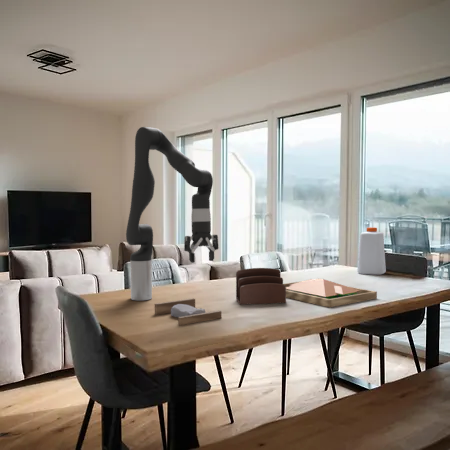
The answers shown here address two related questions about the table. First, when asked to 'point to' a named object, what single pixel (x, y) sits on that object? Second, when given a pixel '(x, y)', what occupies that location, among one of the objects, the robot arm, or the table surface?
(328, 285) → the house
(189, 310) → the stone block
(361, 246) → the plastic bottle
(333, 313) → the table surface
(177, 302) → the pair of wooden bars
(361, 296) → the wooden picture frame
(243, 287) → the letter holder
